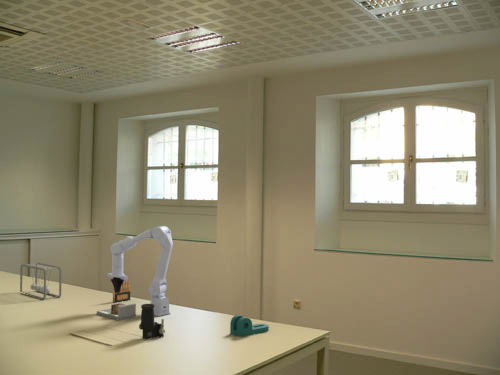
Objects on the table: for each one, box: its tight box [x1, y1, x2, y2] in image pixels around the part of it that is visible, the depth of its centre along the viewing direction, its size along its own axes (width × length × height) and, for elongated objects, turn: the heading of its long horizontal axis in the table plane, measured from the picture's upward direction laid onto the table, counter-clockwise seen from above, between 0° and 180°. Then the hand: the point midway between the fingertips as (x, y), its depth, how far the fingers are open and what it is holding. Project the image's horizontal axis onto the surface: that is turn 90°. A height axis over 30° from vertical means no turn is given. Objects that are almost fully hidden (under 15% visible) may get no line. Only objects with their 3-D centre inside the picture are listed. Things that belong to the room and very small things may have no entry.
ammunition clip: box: [112, 278, 131, 304], centre depth 297 cm, size 11×2×12 cm, turn 139°
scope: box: [138, 303, 166, 340], centre depth 224 cm, size 8×14×10 cm
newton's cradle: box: [19, 262, 63, 301], centre depth 311 cm, size 30×10×18 cm, turn 48°
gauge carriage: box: [110, 302, 127, 314], centre depth 261 cm, size 5×7×4 cm
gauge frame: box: [96, 303, 137, 322], centre depth 262 cm, size 20×9×6 cm, turn 50°
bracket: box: [229, 314, 270, 338], centre depth 234 cm, size 18×7×8 cm, turn 128°
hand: (117, 292), depth 274 cm, fingers closed
